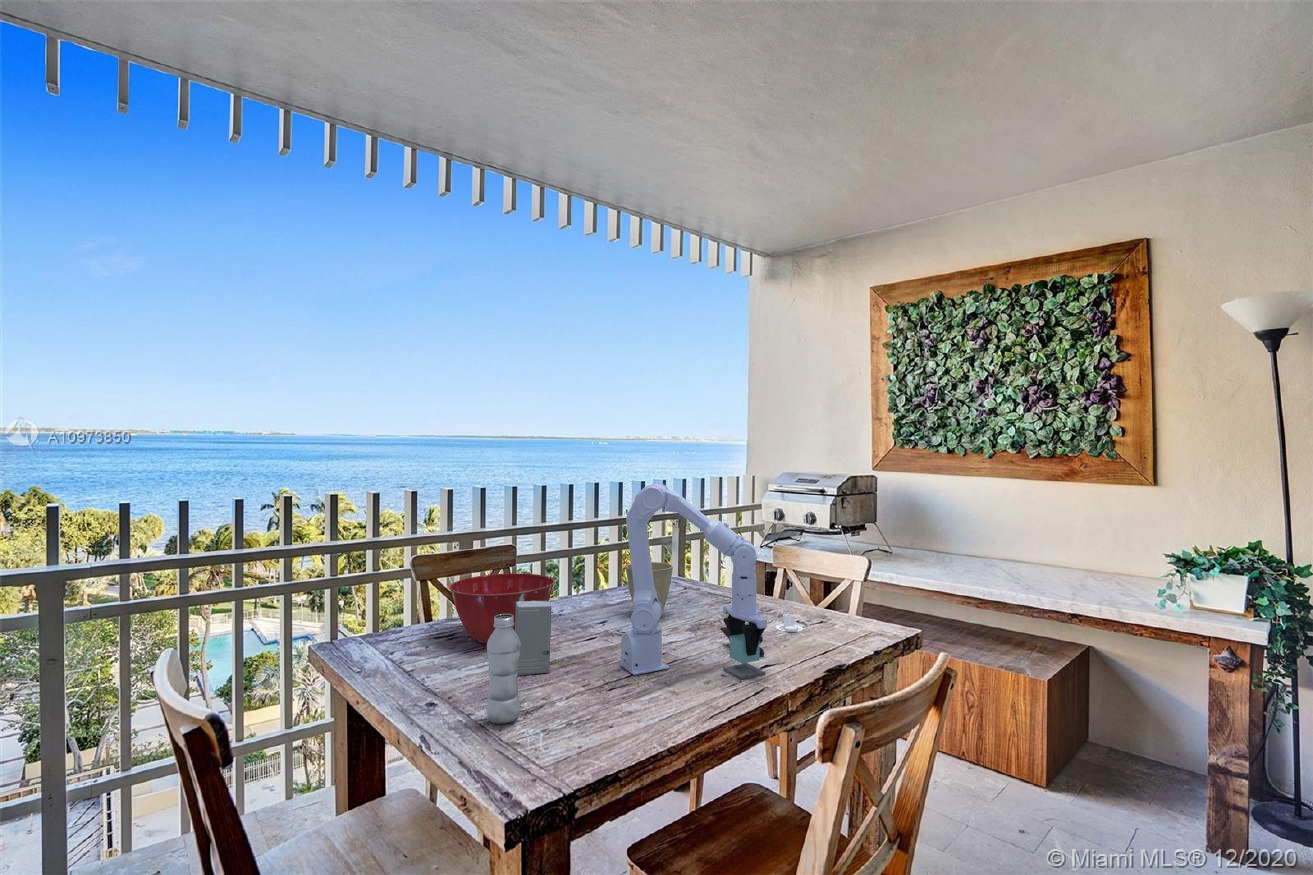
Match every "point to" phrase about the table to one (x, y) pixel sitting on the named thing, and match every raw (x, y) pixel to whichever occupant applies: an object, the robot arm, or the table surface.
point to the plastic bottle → (503, 671)
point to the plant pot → (655, 580)
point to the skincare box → (533, 636)
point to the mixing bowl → (495, 599)
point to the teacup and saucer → (789, 624)
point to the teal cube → (742, 650)
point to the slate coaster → (744, 671)
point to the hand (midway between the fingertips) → (744, 651)
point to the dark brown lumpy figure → (726, 632)
